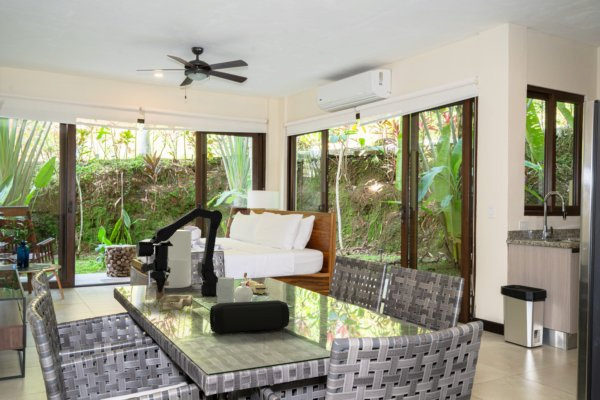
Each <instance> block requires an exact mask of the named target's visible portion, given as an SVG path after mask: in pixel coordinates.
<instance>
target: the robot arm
mask: <svg viewBox="0 0 600 400" xmlns="http://www.w3.org/2000/svg"><path fill="white" fill-rule="evenodd" d="M198 217H199V218H203V219H205V221H206V228H207V229H206V237H205V245H204V251H203V258H202V260H201V262H199V261H198V262H197V269H196V271H197V275H198V276H199V277H200V278H201V280H202V284H201V287H200V288H201V289H200V293H201V297H217V296H218V278H219V277H218V276H217V275H216V274H215V265H214V253H215V246H216V245H215V244H216V240H217V233H218V229H219V227H220V226H221V223H222V219H223V213H222V212H221V211H220V210H218V209H211V210H208V209H203V208H201V207H194V208H192V209H191V210H190V211H188V212H186V213H185V214H184V215H183V214H182V216H181V217H179V218H177V219H176V220H174V221H173V222H171V223H168V224H166V225H163V226H160V227H158V228H156V229H155V231H154V232H153V233H154V235H153V236H152V237H151V238H150V240H148V241H142V240H141V241H140V240H139V241H137V243H138V244H137V247H136V257H137V258H143V257H144V258H151V257H152V256H153V255H154V259H153V260H152V262H149V263H147V262H144V263H142V265H141V266H140V271H141V272H142V274H146V273H147V272H149V271H151V273H150V274H149V275H150V276H149V277H150V279H153V281H156V283H157V286H156V288H158V292H161V291H162V289H163V286H164V284H165V281H167V279H168V277H169V274H166V272H169V273H171V268H170V267H169V266H168V261H169V258H168V246H173V244H171V242H170V241H167V240H168V239H169V238H170V237H171V236H172V235H173V234H174V233H175V232H176V231H177V230H181V229H182V228H183V227H185V226H186V225H188V224H189V223H190V222H193V221H194V220H196V219H197V218H198ZM161 241H167V242H161ZM158 243H160V244H159V245H157V244H158Z"/></svg>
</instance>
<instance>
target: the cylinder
mask: <svg viewBox="0 0 600 400" xmlns="http://www.w3.org/2000/svg"><path fill="white" fill-rule="evenodd" d="M167 241H170V242H171V244H173V246H168V258H169V261H168V266H169V267H170V268H171V273H169V272H166V274H169V277H168V279H167V281H169V285H168V286H165V288H164V289H179V288H180V289H181V288H187V287H188V288H189V287H190V286H191V282H192V281H191V276H192V272H191V271H192V230H188V229H178V230H177V231H176V232H175V233H174V234H173V235H172V236H171V237H170V238H169V239H168V240H167ZM167 241H161V242H167ZM159 244H160V243H158V244H156V245H159Z"/></svg>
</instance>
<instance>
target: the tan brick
mask: <svg viewBox="0 0 600 400" xmlns="http://www.w3.org/2000/svg"><path fill="white" fill-rule="evenodd" d="M168 285H169V281H165V284H164V286H163V289H162V291H161V292H158V288H157V283H156V281H155V280H152V281H151V286H155V288H156V289H155V290H156V291H155V293H156V297H155V300H159V299H160V298H161V297H162V296H163V295H165V289H166V288H165V286H168Z"/></svg>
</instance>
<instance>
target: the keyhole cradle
mask: <svg viewBox="0 0 600 400" xmlns="http://www.w3.org/2000/svg"><path fill="white" fill-rule="evenodd" d="M158 300H159V301H158V302H159V303H158V304H159V306H162V309H163V310H182V308H183V307H184V306H190V305H191V303H192V302H193V295H192V294H188V295H187V294H185V295H184V294H183V295H182V294H164V295H163V296H162V297H161V298H160V299H158Z"/></svg>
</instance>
